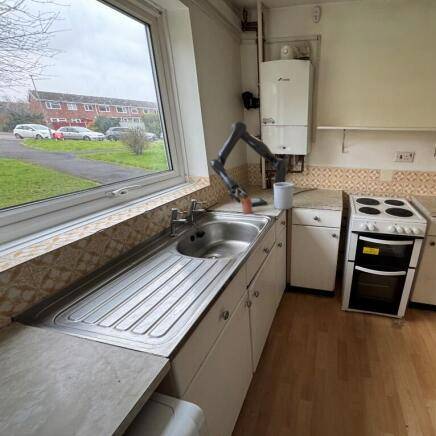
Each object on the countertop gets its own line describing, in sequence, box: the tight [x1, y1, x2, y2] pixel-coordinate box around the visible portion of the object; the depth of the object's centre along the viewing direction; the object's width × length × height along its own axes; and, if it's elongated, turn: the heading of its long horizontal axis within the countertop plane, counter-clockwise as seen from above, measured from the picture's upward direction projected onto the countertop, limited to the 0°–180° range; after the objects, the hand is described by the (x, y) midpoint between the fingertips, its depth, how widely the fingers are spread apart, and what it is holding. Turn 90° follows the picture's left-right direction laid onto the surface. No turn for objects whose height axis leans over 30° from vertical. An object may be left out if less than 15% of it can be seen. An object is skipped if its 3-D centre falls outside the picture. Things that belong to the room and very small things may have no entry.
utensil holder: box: [272, 181, 294, 211], centre depth 172 cm, size 15×15×18 cm
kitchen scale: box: [251, 197, 268, 208], centre depth 184 cm, size 16×14×3 cm
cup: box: [241, 196, 253, 214], centre depth 162 cm, size 6×6×10 cm
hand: (244, 200), depth 162 cm, fingers open, 8 cm apart
